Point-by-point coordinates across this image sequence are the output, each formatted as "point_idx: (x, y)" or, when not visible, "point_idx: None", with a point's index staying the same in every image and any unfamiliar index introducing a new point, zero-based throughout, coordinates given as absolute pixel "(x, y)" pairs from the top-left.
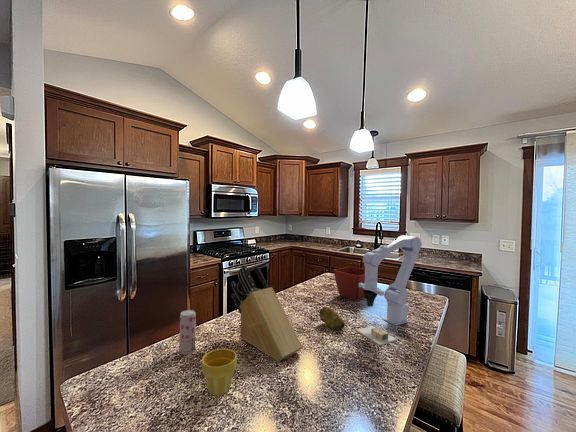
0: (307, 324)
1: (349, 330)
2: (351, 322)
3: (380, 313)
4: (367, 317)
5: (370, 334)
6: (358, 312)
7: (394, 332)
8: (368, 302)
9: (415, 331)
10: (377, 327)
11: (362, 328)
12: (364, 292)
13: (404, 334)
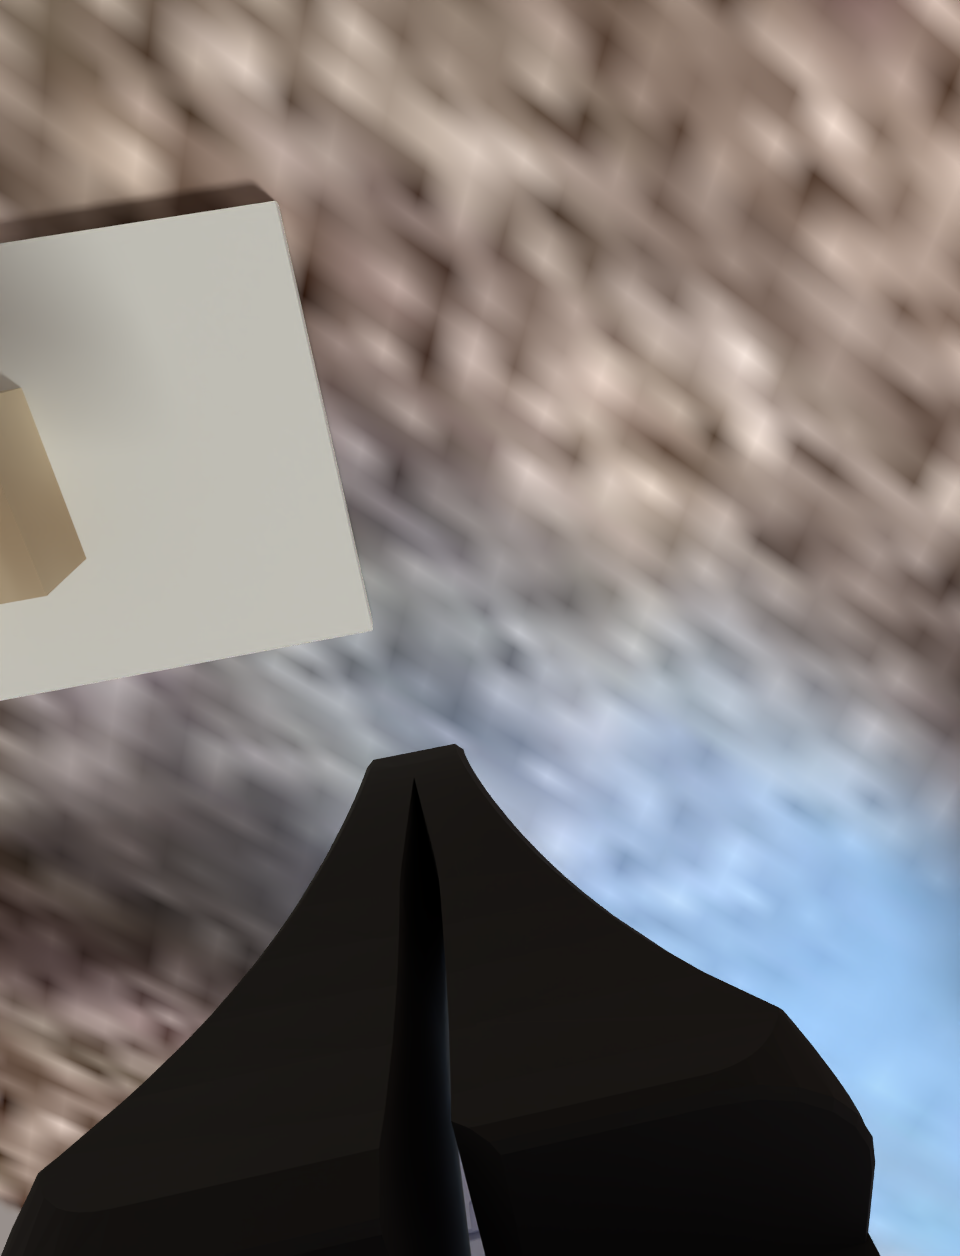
0: None
1: (335, 50)
2: (647, 338)
3: (739, 969)
4: (706, 734)
5: (25, 377)
6: (920, 697)
7: (124, 834)
8: (391, 820)
9: (119, 1083)
10: (38, 583)
11: (302, 372)
12: (620, 1073)
13: (44, 925)
